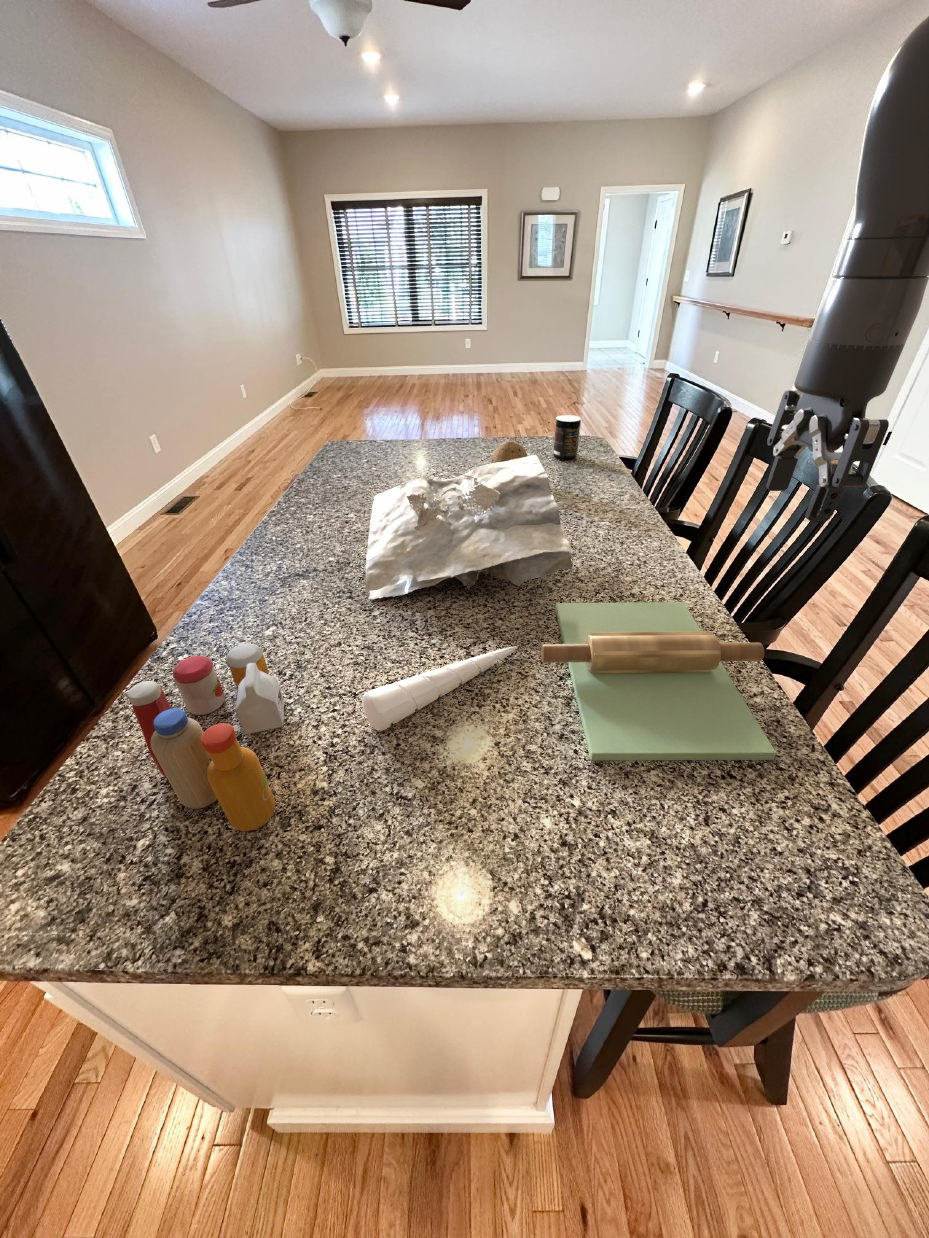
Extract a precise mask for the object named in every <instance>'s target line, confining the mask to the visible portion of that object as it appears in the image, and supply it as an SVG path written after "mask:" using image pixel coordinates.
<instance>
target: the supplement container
mask: <svg viewBox="0 0 929 1238" xmlns="http://www.w3.org/2000/svg"><path fill="white" fill-rule="evenodd" d="M581 425H582V417H581V416H578V415H573V414H563V415H558V416H556V417H555V423H554V438H553V447H552V449H553V451H552V456H553V458H554V459H555V460H559V461H566V462H567V461H573V460H575V459H576V458H577V457H578V451H579V442H580V435H581V434H580V432H581Z"/></svg>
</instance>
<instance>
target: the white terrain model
mask: <svg viewBox="0 0 929 1238" xmlns="http://www.w3.org/2000/svg"><path fill="white" fill-rule="evenodd" d="M561 521H562V520H561V516H560V511H559V507H558V504H557V502H556V499H555V497H554V495H553V493H552V489H551V485H550V480H549V477H548V475H547V473H546V469H545V468H544V467H543V465H542V463H541V461H540V459H539V457H538V456H537V454H533V455H529V456H528V455H527V457H523V458H518V459H512V460H509V461H505V462H498V463H492V464H491V463H487V464H482V465H481V466H480V465H479V466H478V467H475V468H473V469H470V470H469V471H468V472H467V471H466V473H464V474H461V475H459V476H455V477H452V478H447V479H432V478H430V477H424V476H423V477H419V478H415V479H413V480H411V481H409V482H407V483H403V484H400V485H397V486H394V487H393V488H389V489H388V490H386V491H383V492H379V493H377V494H375V495H374V496H373V503H372V508H371V514H370V521H369V522H370V523H369V527H368V529H369V530H368V539H367V541H368V542H367V547H366V557H365V574H364V575H365V577H364V578H365V579H364V580H365V593H367V592H369V595H368V597H367V599H368V600H375V599H383V598H389V597H393V598H394V597H396V596H397V597H398V596H399V597H400V596H404V595H407V594H409V593H411V594H412V592H413V591H415V590H419V589H422V588H430V587H432V586H435V587H436V585H437V584H440V582H441V581H444V580H447V579H448V578H453V577H455V579H457V580H459V581H460V582H461V583H462V585H463V587H466V588H467V589H470V588H471V587H472V586H474V585H475V584H476V583H477V581H478V579H479V577H480V575H479V574H482V573H485V574H490V575H492V576H494V577H496V578H498V579H501V580H505V581H509V582H510V583H512V584H513V585H515V586H517V587H520V586H521V585H522V584H523V583H524V582H526V581H529V580H530V581H531V580H533V579H537V578H542V577H546V576H549V575H550V576H551V575H553V574H554V573H556V572H557V571H560V570H573V563H572V556H571V553H570V552H571V551H573V546H572V545H571V544H570V540H569V539H568V537H569V536H568V535H567V534H566V531H565V529H564V525H563V523H562V522H561Z"/></svg>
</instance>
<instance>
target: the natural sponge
mask: <svg viewBox="0 0 929 1238" xmlns="http://www.w3.org/2000/svg"><path fill="white" fill-rule="evenodd" d="M523 457H528V453H527V450H526V449H525V447H524V446H523V445H522V444H520V443H519V442H517V441H514V440H505V441H503V442H501V443H500V444H499V445H498V446H497V447H496V448H495V450H494V451H493V454H492V456H491V458H490V464H492V463H498V462H505V461H509V460H512V459H518V458H523Z"/></svg>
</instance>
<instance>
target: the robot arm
mask: <svg viewBox="0 0 929 1238" xmlns="http://www.w3.org/2000/svg"><path fill="white" fill-rule="evenodd" d="M853 204H854V205H853V210H852V214H851V219H850V222H849V224H848V228H847V229H846V233H845V235H844V238H843V241H842V244H841V247H840V250H839V254H838V257H837V260H836V263H835V265H834V269H833V272H832V277H831V278H830V280H829V284H828V285H827V287H826V290H825V292H824V293H823V296H822V298H821V301H820V303H819V305H818V309H817V311H816V314H815V317H814V320H813V324H812V326H811V329H810V332H809V336H808V339H807V342H806V345H805V349H804V351H803V354H802V356H801V361H800V363H799V367H798V370H797V372H796V375H795V379H794V382H793V385H794V388H795V389H793V390H789V389H788V390H785V391H784V392H783V394H782V397H781V399H780V402H779V406H778V408H777V411H776V413H775V417H774V419H773V422H772V425H771V428H770V431H769V434H768V437H767V440H766V443H767V444H766V445H767V446H769V447H773V448H772V455H773V456H774V460H773V463H772V466H771V469H770V473H769V475H768V478H767V481H766V484H765V487H766V489H767V490H768V491H770V492H785V491H786V490H788V488H789V486H790V483H791V481H792V478H793V475H794V472H795V469H796V467H797V464H798V461H799V458H797V456H799V455H800V454H801V453H802V452H803V451H804V450H805V449H806V448H807V449H808V450H809V451H810V452H812V461H813V464H815V465H816V466H817V467H818V483H817V484H816V486H815V488H814V491H813V493H812V496H811V499H810V501H809V504H808V507H807V510H806V512H805V514H804V518H805V519H806V520H808V521H809V522H811V523H819V522H822V523H824V522H828V521H829V520H831V518H832V517H833V515H834V513H835V511H836V509H837V507H838V504H839V502H840V499H841V496H842V495H843V492H844V491H845V489H846V488H852V487H853V488H854V487H855V488H856V487H857V488H859V487H860V488H861V487H864V486H865V485H866V484H867V483H868V480H869V477H870V476H871V475H870V474H871V473H872V469H873V467H874V465H875V462H876V460H877V458H878V455H879V452H880V450H881V447H882V445H883V442H884V440H885V437H886V434H887V433H888V429H889V426H890V422H889V420H888V419H880V418H879V419H870V418H866V411H867V408H868V405H869V402H870V401H872V400H873V399H874V398H877V397H880V396H881V395H883V394H884V393H885V392H886V390H887V388H888V385H889V383H890V381H891V378H892V376H893V374H894V371H895V369H896V367H897V364H898V362H899V359H900V357H901V355H902V353H903V350H904V348H905V345H906V343H907V341H908V338H909V336H910V333H911V331H912V329H913V326H914V324H915V321H916V320H917V318H918V314H919V311H920V310H921V307H922V303H923V300H924V296H925V292H926V289H927V285H928V282H929V15H928V16H927V17H925V19H923V20H921V22H920V23H919V24H918V25H916V27H915V28H914V29H913V30H912V31H911V32H910V33H909V34H908V35H907V37H906V38H905V39H904V40H903V41H902V43H901V44H900V45H899V47H898V48H897V50H896V51H895V53H894V55H893V56H892V58H891V60H890V61H889V63H888V65H887V67H886V69H885V71H884V73H883V75H882V77H881V79H880V81H879V84H878V86H877V88H876V91H875V94H874V96H873V99H872V101H871V105H870V108H869V112H868V115H867V120H866V124H865V129H864V134H863V140H862V145H861V151H860V158H859V164H858V170H857V177H856V181H855V191H854V203H853ZM784 426H786V428H785V429H784V430H783V431H782V429H783V427H784ZM840 448H842V451H839V452H837V451H838V450H839V449H840ZM856 462H859V463H858V465H857V469H856V471H855V473H854V472H853V471H854V470H853V464H854V463H856ZM833 465H836V468H835V471H834V473H833Z"/></svg>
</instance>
